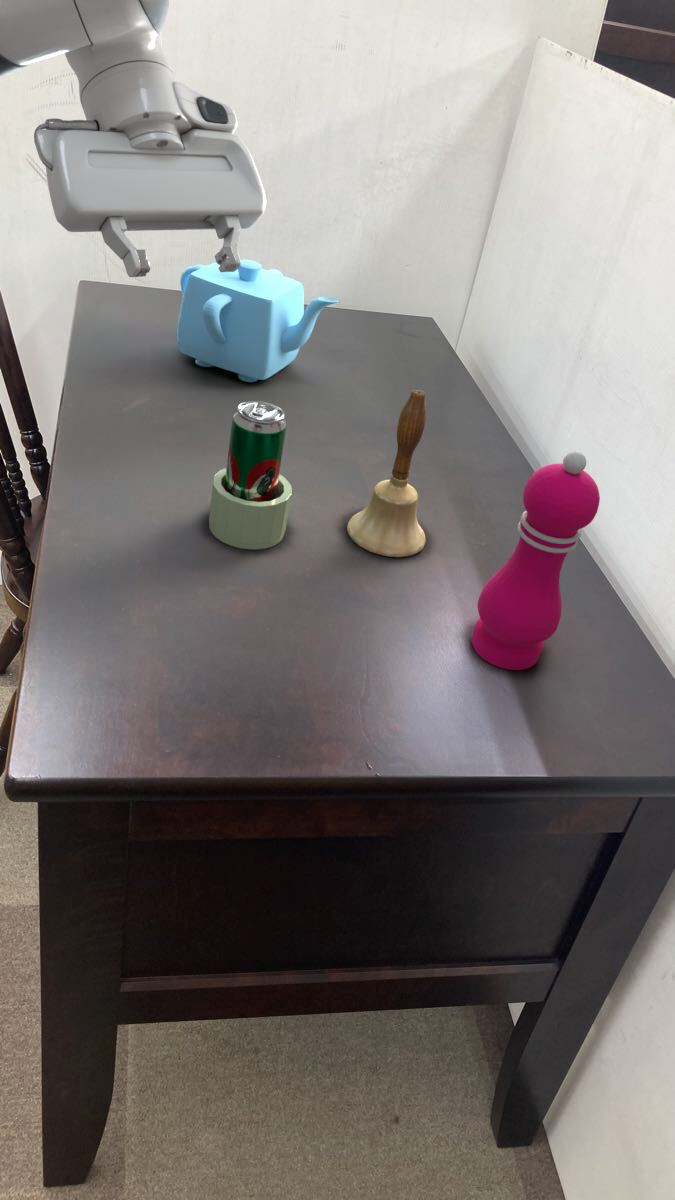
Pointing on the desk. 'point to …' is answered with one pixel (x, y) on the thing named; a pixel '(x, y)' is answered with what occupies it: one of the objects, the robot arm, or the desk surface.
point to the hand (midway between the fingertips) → (187, 271)
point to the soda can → (255, 451)
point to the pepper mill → (535, 566)
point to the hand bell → (395, 495)
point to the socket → (248, 516)
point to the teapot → (244, 319)
